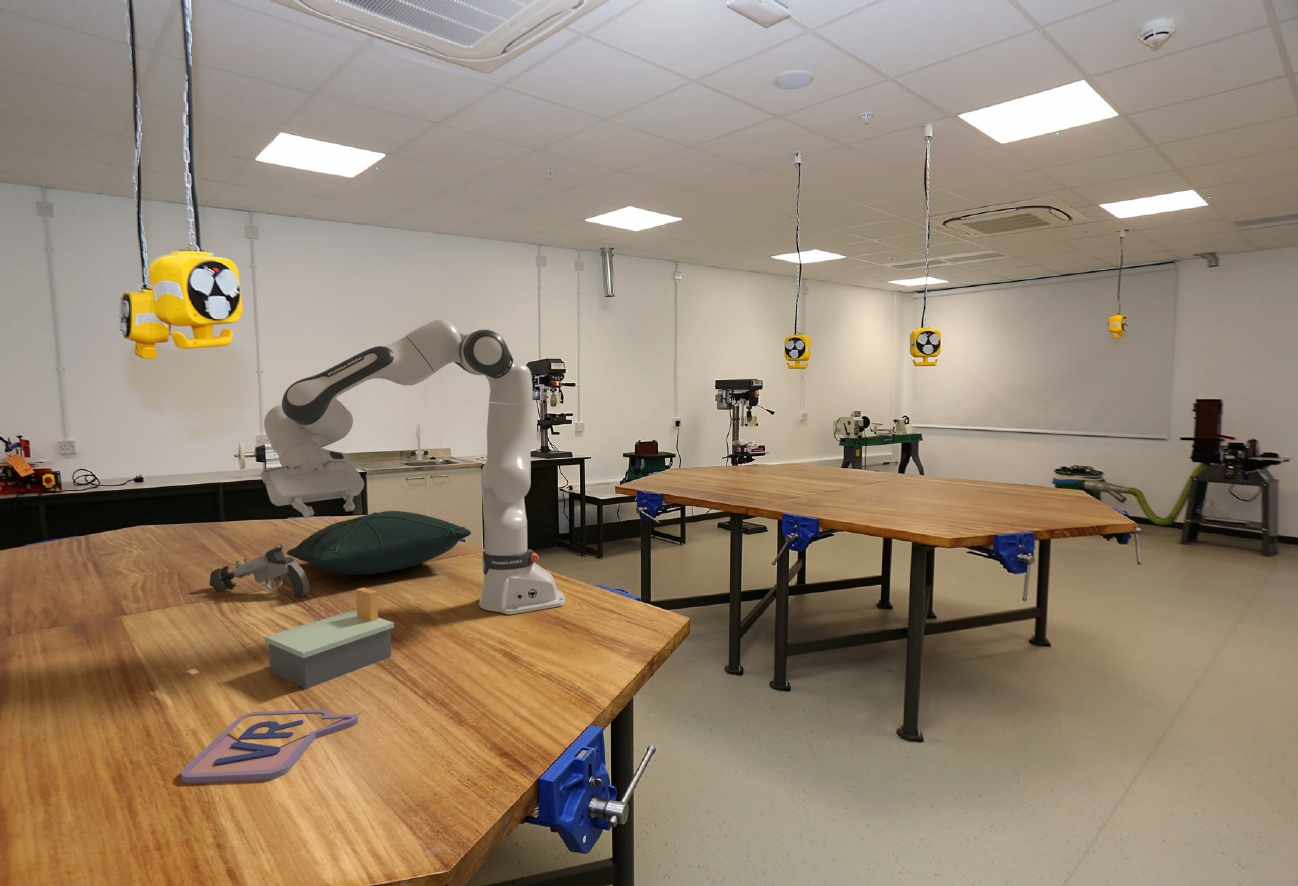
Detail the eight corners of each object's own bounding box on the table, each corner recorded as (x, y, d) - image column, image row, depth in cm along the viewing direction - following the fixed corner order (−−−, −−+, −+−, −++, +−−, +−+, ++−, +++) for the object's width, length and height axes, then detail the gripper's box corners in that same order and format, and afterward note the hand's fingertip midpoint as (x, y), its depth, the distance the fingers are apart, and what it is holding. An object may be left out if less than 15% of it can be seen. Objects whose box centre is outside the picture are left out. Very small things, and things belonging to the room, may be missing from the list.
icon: (318, 771, 95) (173, 777, 93) (318, 781, 95) (173, 787, 93) (364, 708, 114) (244, 712, 112) (364, 716, 114) (244, 720, 112)
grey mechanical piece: (303, 596, 174) (281, 541, 175) (222, 628, 181) (201, 575, 181) (317, 590, 180) (296, 536, 180) (239, 621, 186) (218, 569, 186)
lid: (355, 620, 143) (353, 583, 143) (394, 634, 136) (393, 594, 135) (265, 649, 128) (263, 606, 127) (303, 666, 120) (302, 621, 119)
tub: (355, 646, 143) (354, 615, 143) (391, 660, 136) (390, 627, 135) (270, 676, 128) (268, 641, 128) (306, 693, 121) (304, 656, 120)
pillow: (316, 523, 173) (279, 524, 206) (323, 592, 173) (285, 581, 206) (469, 500, 202) (415, 504, 235) (476, 559, 202) (421, 555, 235)
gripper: (262, 459, 138) (288, 510, 133) (352, 453, 155) (378, 497, 150) (252, 478, 141) (277, 529, 136) (342, 470, 158) (366, 514, 153)
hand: (331, 512), depth 143 cm, fingers open, 8 cm apart
